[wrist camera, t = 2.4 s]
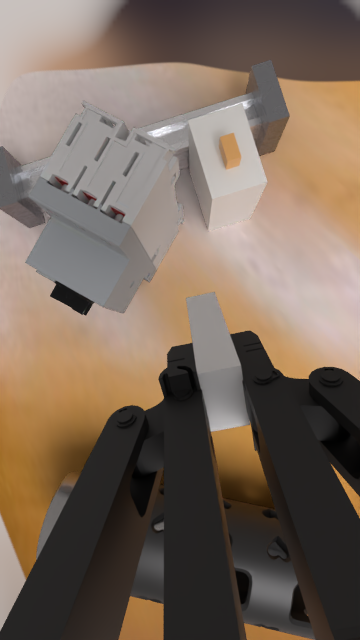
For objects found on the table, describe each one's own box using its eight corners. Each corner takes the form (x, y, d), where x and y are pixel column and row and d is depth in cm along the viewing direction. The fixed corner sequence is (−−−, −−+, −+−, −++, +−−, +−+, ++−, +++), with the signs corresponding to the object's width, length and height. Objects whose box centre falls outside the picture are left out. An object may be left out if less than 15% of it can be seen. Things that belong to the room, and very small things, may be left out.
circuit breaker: (68, 297, 38) (-16, 271, 23) (128, 191, 38) (85, 97, 23) (123, 328, 37) (75, 323, 22) (184, 221, 37) (176, 144, 22)
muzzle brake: (320, 587, 35) (372, 692, 25) (70, 530, 36) (21, 607, 26) (334, 498, 35) (392, 566, 25) (87, 446, 37) (45, 489, 27)
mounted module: (230, 158, 38) (244, 91, 27) (249, 219, 37) (271, 174, 27) (189, 171, 38) (187, 109, 27) (208, 231, 37) (213, 192, 27)
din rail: (258, 103, 38) (271, 59, 32) (274, 151, 37) (289, 115, 31) (16, 180, 39) (-17, 152, 33) (29, 227, 38) (-2, 207, 32)
